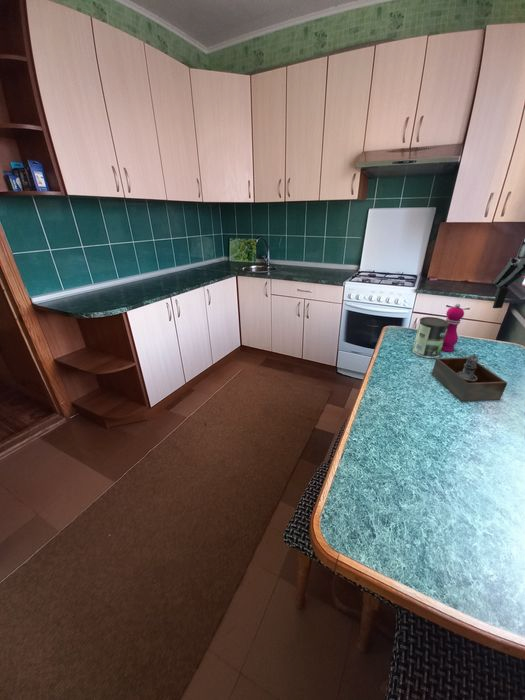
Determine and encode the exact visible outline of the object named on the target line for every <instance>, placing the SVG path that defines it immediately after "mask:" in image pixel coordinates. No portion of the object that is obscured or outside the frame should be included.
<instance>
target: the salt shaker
mask: <svg viewBox="0 0 525 700" xmlns="http://www.w3.org/2000/svg"><path fill="white" fill-rule="evenodd" d="M467 357H468V358H467V361H466V364H464V369H463V371H460V372H457V374H458V375H459V376H460V377H462V378H463V379H464V380H465V381H467V382H468V383H474V382H475V381H476V380H477V377H476V376H475V375H474V371H475V369H476V368H477V367H476V365H477V362H478V361H479V357H478V356H477V355H476V353H473V354H472V355H469V356H467ZM478 363H479V362H478Z"/></svg>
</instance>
